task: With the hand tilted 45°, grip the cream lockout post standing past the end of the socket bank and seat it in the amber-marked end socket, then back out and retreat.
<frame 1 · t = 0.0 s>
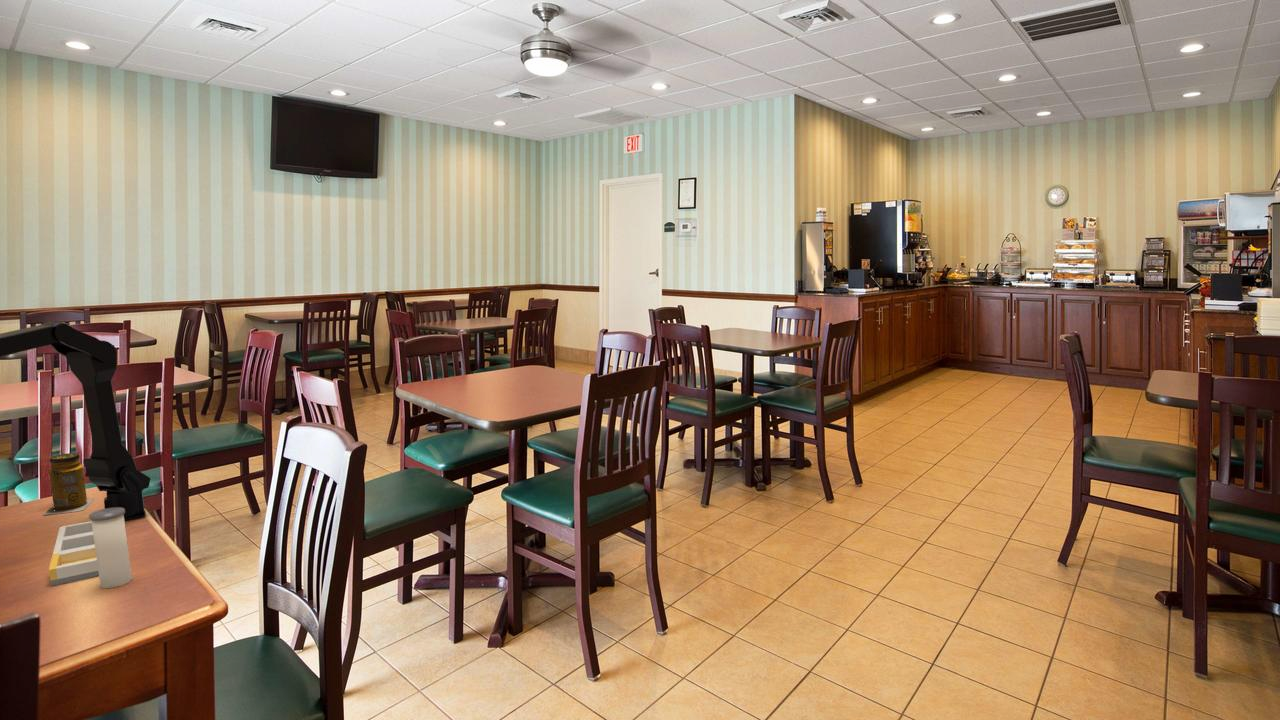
condiment: (69, 508, 162), on the table
socket bank: (83, 556, 135), on the table
lockout post: (116, 582, 125), on the table
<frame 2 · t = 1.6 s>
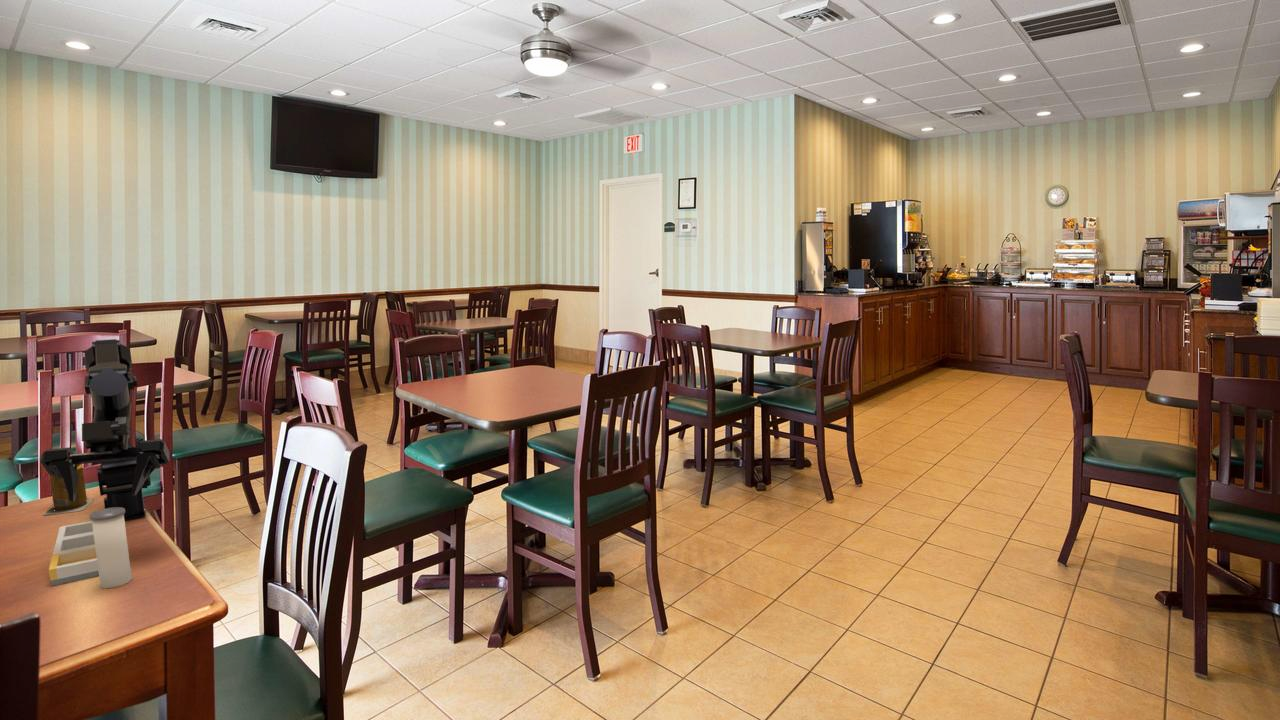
hand: (103, 498, 129), 13 cm above the table, tool tilted 45°, fingers open, 9 cm apart
nothing on the table moved.
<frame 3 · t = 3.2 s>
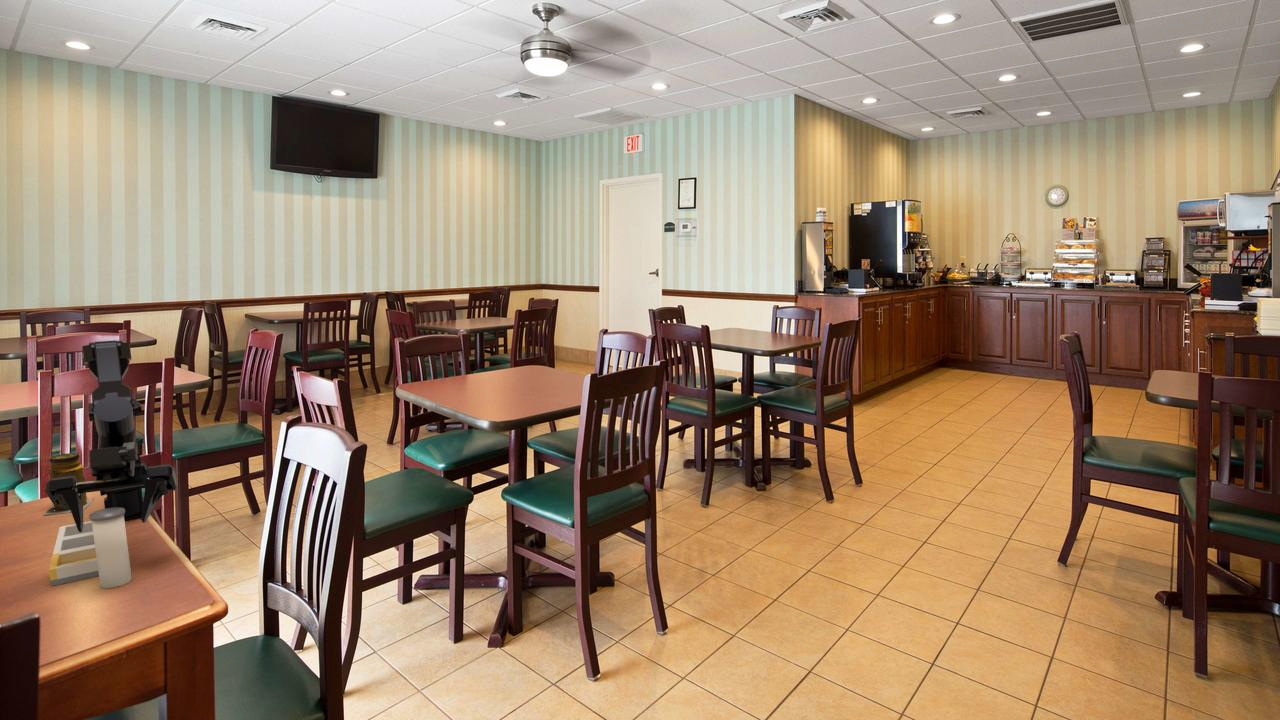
hand: (112, 526, 125), 10 cm above the table, tool tilted 45°, fingers open, 9 cm apart
nothing on the table moved.
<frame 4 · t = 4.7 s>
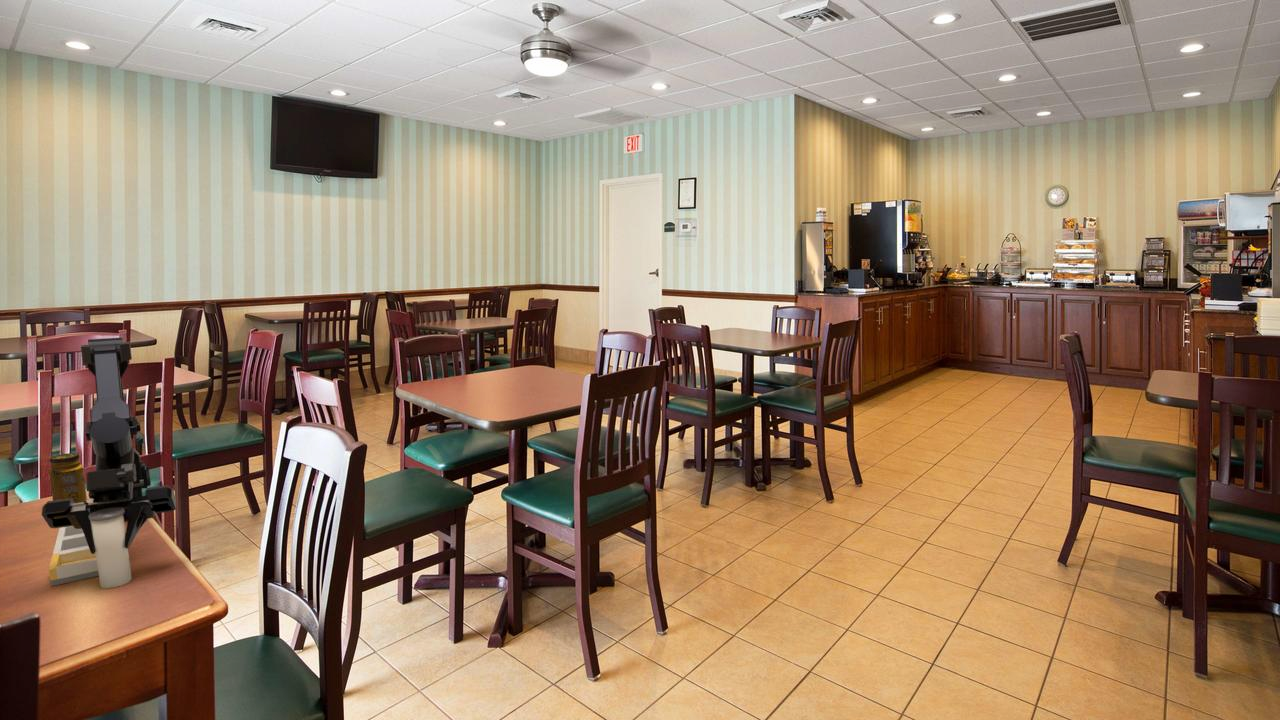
hand: (109, 550, 122), 7 cm above the table, tool tilted 45°, fingers closed on lockout post, 4 cm apart
lockout post: (116, 582, 125), on the table, touching gripper
everything else where it was.
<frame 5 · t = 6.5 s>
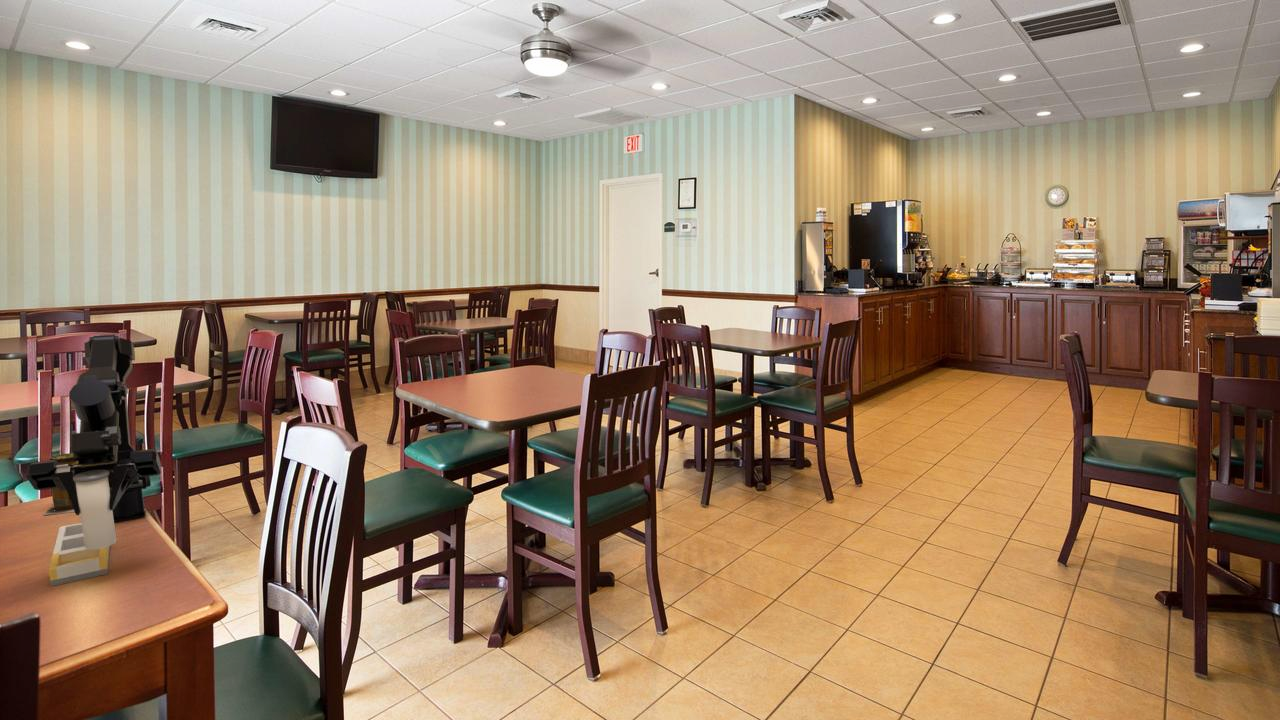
hand: (94, 511, 123), 13 cm above the table, tool tilted 45°, fingers closed on lockout post, 4 cm apart
lockout post: (101, 543, 125), point 6 cm above the table, touching gripper
everything else where it was.
when the fingers open (8 cm above the table, at t = 8.6 s): lockout post stays where it is, resting on socket bank.
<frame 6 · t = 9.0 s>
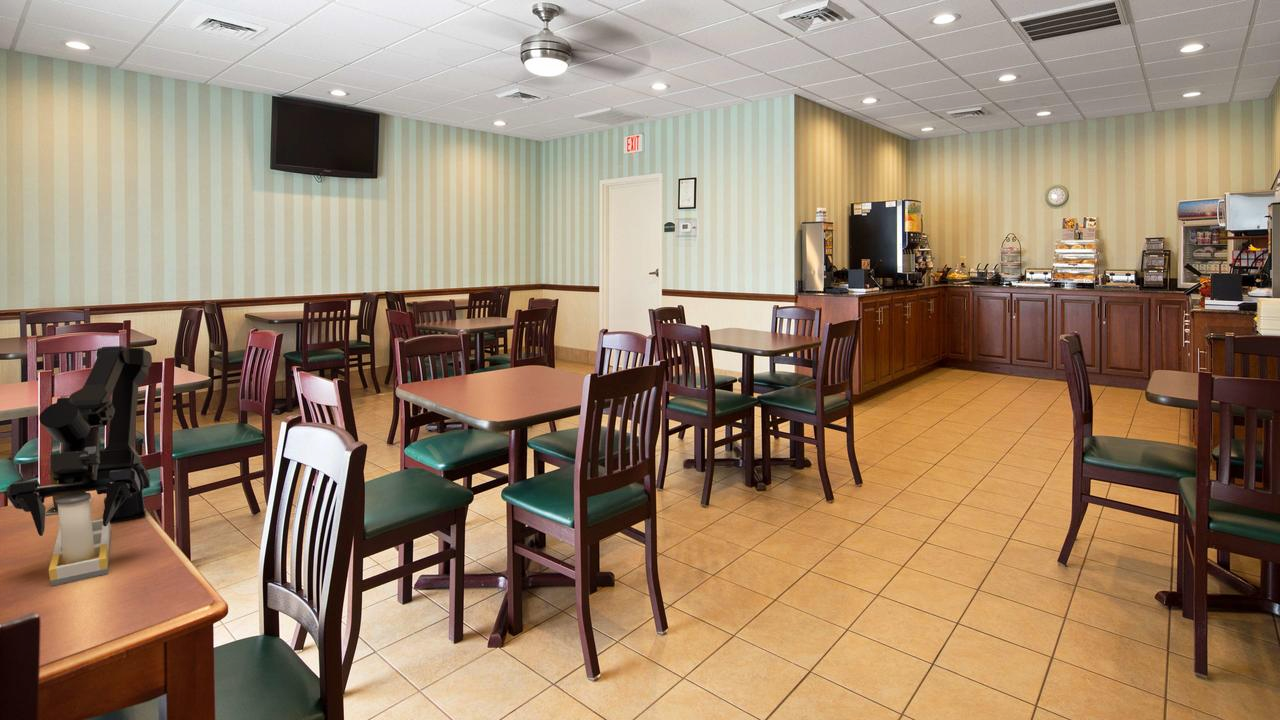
hand: (73, 530, 126), 9 cm above the table, tool tilted 45°, fingers open, 9 cm apart
lockout post: (80, 565, 129), point 1 cm above the table, touching socket bank
everything else where it was.
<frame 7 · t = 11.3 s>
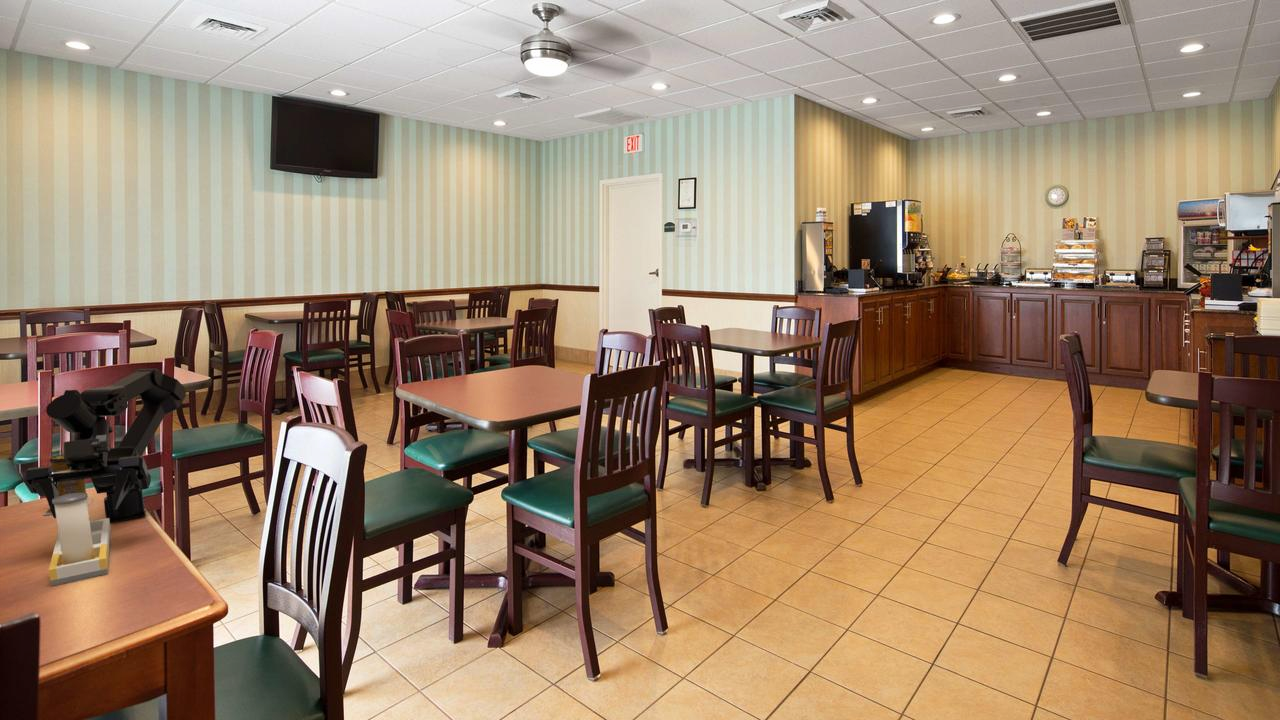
hand: (85, 513, 135), 9 cm above the table, tool tilted 45°, fingers open, 9 cm apart
nothing on the table moved.
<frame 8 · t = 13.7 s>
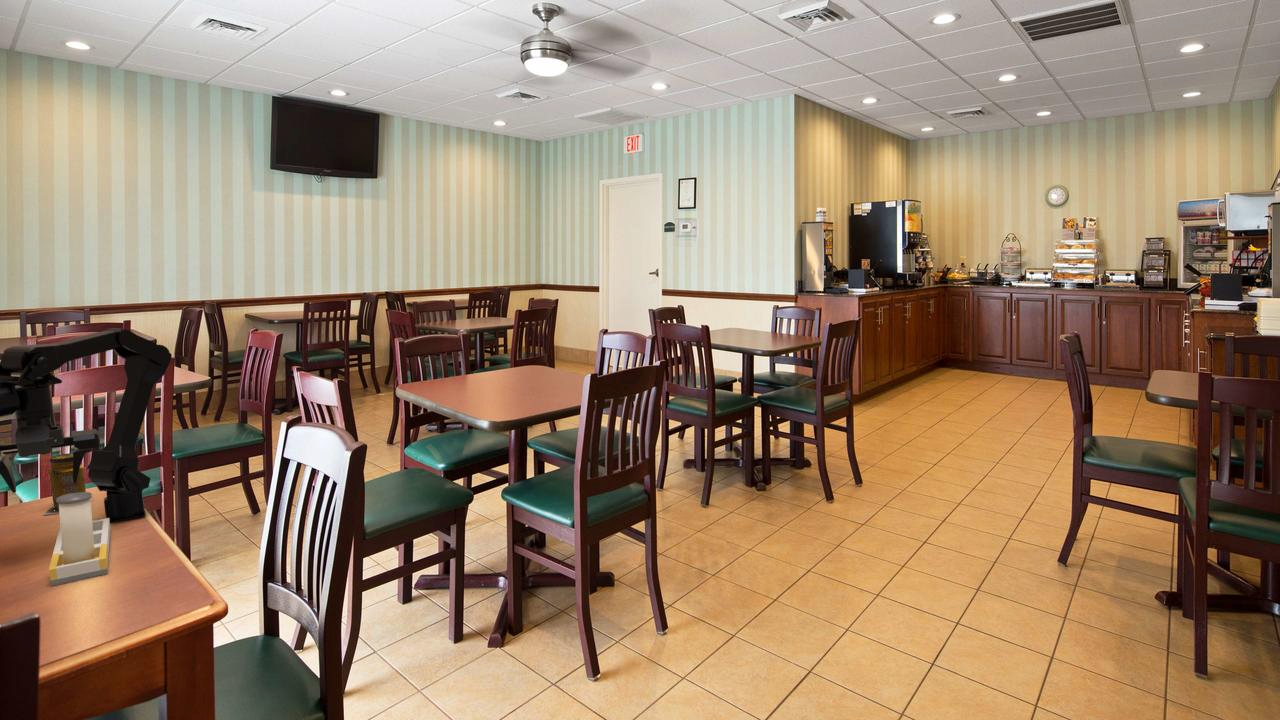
hand: (45, 487, 139), 12 cm above the table, tool pointing down, fingers open, 9 cm apart
nothing on the table moved.
at the end: lockout post 0.1 cm from the target spot on the socket bank, point 1.3 cm above the socket bank's base; lockout post tilted 2°; the gripper is holding nothing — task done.
